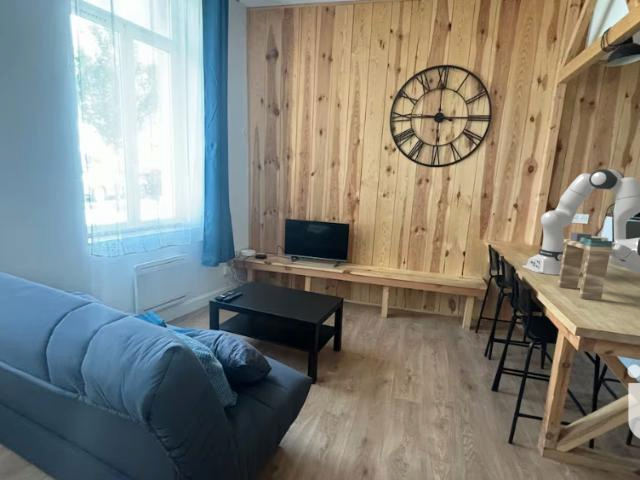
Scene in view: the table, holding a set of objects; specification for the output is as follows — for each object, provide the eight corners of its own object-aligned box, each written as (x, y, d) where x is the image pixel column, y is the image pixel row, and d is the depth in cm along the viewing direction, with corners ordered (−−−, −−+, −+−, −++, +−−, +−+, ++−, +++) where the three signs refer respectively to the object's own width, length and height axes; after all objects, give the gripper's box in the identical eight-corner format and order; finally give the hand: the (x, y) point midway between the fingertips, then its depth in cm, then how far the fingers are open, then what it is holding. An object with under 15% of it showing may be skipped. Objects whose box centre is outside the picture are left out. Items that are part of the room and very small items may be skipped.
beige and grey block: (602, 241, 185) (603, 233, 184) (608, 243, 180) (610, 235, 180) (570, 239, 186) (571, 232, 185) (576, 241, 181) (577, 233, 181)
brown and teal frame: (556, 286, 193) (565, 233, 187) (575, 287, 192) (584, 234, 187) (580, 298, 173) (591, 240, 167) (602, 300, 172) (613, 241, 167)
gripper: (608, 244, 193) (587, 230, 192) (639, 251, 173) (616, 236, 172) (600, 253, 194) (580, 240, 193) (630, 262, 174) (607, 247, 173)
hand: (597, 238), depth 183 cm, fingers open, 6 cm apart
